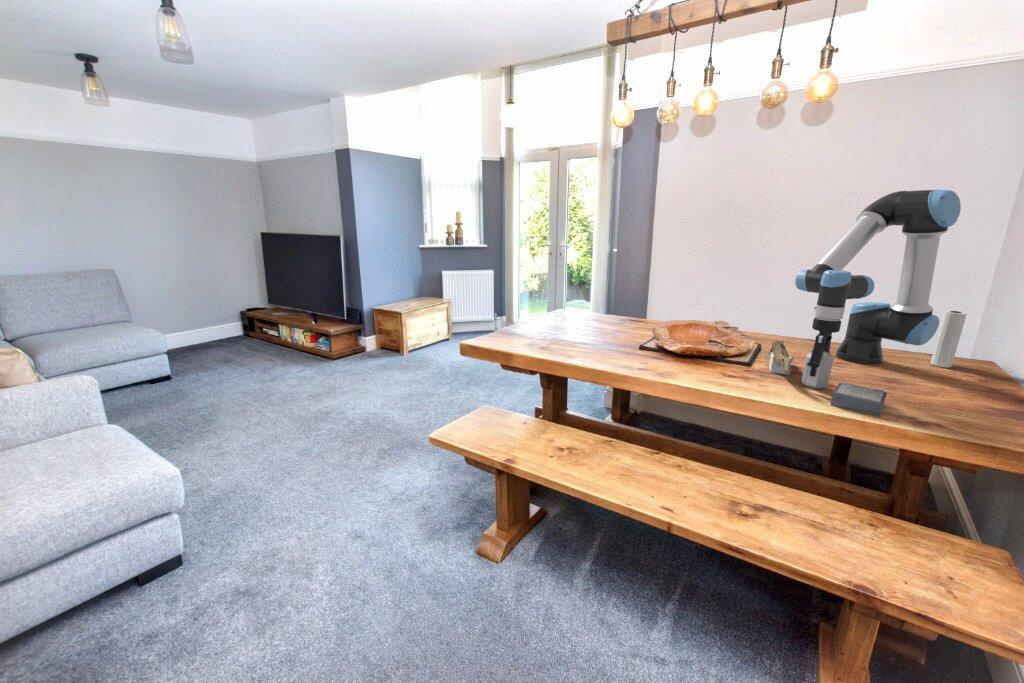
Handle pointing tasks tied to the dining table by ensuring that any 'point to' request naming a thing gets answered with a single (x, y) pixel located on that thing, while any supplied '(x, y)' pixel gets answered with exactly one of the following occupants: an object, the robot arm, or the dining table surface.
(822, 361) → the can
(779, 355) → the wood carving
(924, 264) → the robot arm
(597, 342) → the dining table surface
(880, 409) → the plinth
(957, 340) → the paper towel roll
